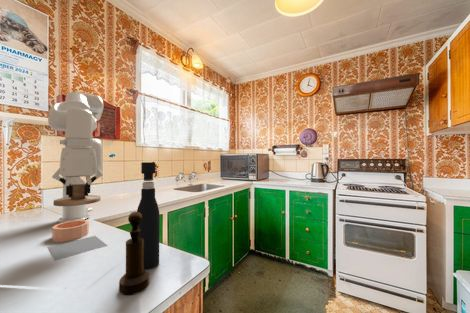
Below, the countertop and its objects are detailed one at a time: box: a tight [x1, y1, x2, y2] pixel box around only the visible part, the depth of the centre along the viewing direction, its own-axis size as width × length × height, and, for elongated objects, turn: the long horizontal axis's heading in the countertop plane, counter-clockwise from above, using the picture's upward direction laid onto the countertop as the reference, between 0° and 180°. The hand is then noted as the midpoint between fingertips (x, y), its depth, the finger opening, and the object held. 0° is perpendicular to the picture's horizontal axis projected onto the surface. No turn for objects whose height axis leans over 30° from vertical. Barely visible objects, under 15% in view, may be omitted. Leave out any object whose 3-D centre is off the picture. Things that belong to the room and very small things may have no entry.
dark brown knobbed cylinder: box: [118, 211, 150, 296], centre depth 49 cm, size 7×6×18 cm
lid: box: [53, 184, 101, 207], centre depth 71 cm, size 13×13×6 cm
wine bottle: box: [136, 161, 161, 271], centre depth 59 cm, size 6×6×30 cm
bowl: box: [51, 219, 90, 243], centre depth 80 cm, size 11×11×5 cm
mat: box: [47, 235, 108, 261], centre depth 70 cm, size 14×14×1 cm
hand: (78, 195), depth 71 cm, fingers closed on lid, 4 cm apart
